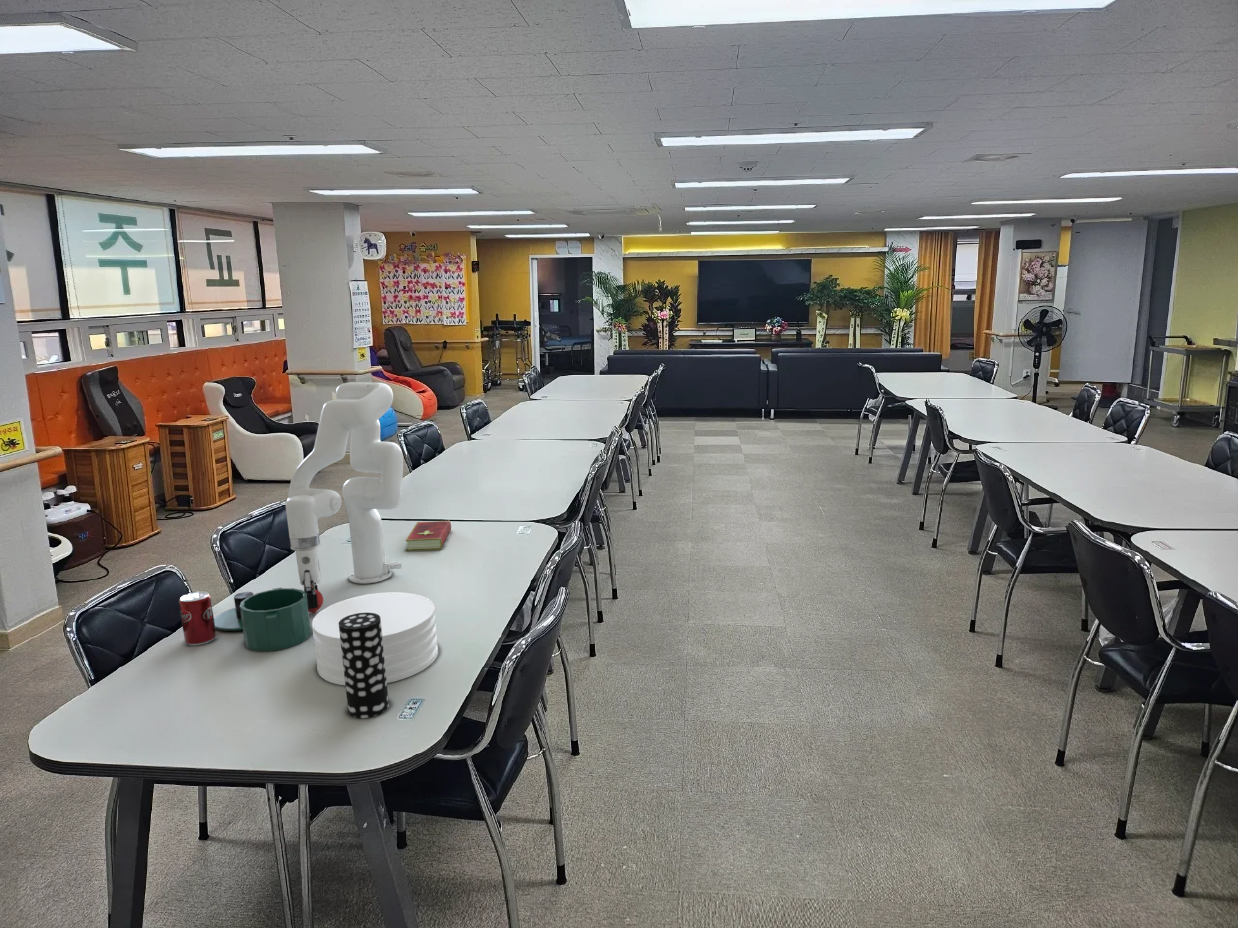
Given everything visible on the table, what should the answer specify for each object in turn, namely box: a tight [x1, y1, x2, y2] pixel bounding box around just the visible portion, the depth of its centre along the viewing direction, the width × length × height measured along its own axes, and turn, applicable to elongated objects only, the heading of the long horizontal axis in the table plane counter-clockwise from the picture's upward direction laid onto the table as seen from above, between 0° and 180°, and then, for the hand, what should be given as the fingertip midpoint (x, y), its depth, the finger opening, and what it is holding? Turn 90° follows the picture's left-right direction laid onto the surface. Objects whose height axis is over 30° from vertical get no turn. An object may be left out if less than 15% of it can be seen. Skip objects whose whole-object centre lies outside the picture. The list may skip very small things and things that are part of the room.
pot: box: [240, 587, 312, 652], centre depth 210 cm, size 16×21×10 cm
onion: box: [308, 585, 324, 614], centre depth 226 cm, size 6×6×8 cm
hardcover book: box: [405, 520, 452, 552], centre depth 287 cm, size 12×21×4 cm, turn 3°
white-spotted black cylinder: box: [339, 613, 390, 719], centre depth 173 cm, size 8×8×20 cm
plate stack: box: [311, 591, 439, 686], centre depth 197 cm, size 28×28×12 cm
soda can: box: [178, 591, 217, 646], centre depth 210 cm, size 7×7×12 cm
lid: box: [214, 591, 254, 632], centre depth 223 cm, size 17×17×7 cm
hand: (312, 603), depth 226 cm, fingers closed on onion, 5 cm apart
